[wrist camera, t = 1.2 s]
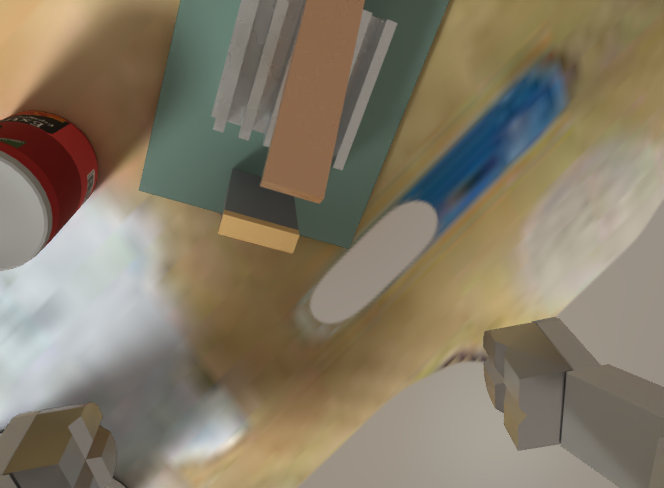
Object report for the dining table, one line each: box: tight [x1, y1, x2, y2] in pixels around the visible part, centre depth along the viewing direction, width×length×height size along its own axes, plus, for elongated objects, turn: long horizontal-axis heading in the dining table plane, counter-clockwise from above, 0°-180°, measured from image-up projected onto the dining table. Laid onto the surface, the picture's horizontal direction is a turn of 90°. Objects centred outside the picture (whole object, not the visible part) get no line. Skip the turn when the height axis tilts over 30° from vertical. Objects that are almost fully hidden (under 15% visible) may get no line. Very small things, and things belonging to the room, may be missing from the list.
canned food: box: [0, 111, 98, 271], centre depth 35 cm, size 8×8×11 cm
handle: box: [260, 0, 365, 204], centre depth 27 cm, size 17×3×2 cm
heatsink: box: [211, 0, 397, 170], centre depth 35 cm, size 10×10×6 cm
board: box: [139, 0, 449, 254], centre depth 35 cm, size 24×18×11 cm
